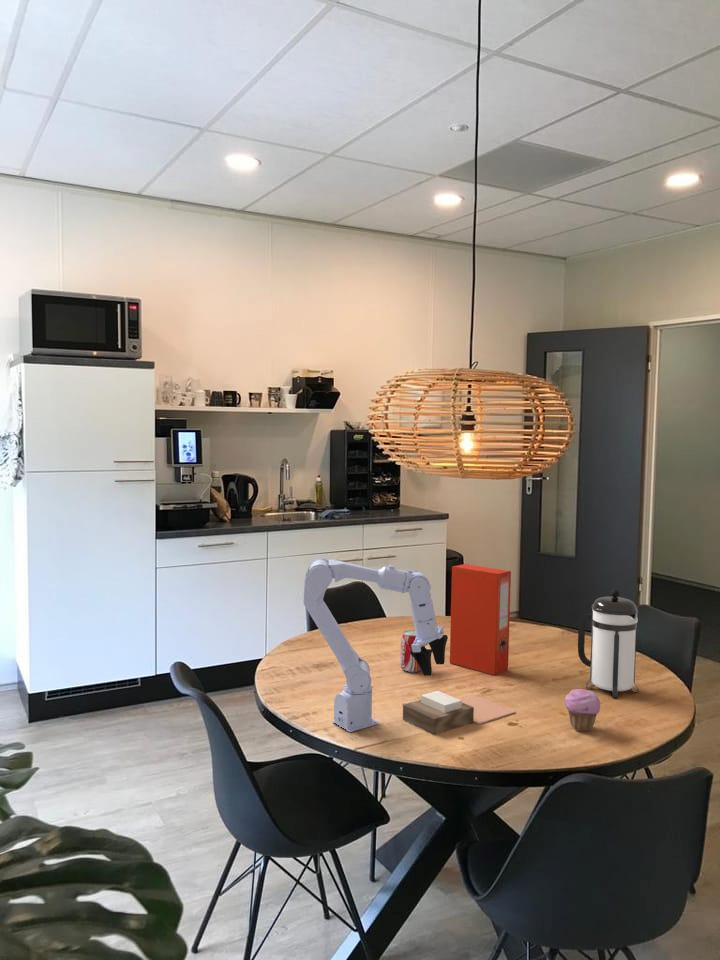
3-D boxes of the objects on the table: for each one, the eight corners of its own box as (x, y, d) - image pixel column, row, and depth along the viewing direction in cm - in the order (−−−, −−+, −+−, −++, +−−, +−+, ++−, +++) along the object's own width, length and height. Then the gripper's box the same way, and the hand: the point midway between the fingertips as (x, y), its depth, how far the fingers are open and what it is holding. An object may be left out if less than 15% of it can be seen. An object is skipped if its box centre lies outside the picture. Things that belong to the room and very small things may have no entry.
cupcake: (559, 721, 198) (560, 684, 197) (591, 721, 198) (593, 684, 198) (571, 735, 189) (572, 696, 188) (605, 735, 189) (606, 696, 189)
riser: (433, 734, 188) (434, 719, 188) (402, 719, 198) (402, 704, 198) (473, 722, 197) (473, 707, 196) (441, 708, 206) (442, 694, 206)
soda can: (396, 667, 241) (397, 630, 240) (416, 665, 244) (417, 629, 243) (405, 674, 235) (406, 636, 234) (426, 672, 237) (427, 634, 236)
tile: (444, 713, 192) (444, 705, 192) (421, 702, 199) (421, 695, 199) (461, 708, 196) (461, 700, 196) (437, 697, 203) (437, 690, 203)
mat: (479, 724, 195) (479, 723, 195) (436, 706, 208) (436, 704, 208) (515, 713, 204) (515, 711, 204) (472, 695, 216) (472, 694, 216)
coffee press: (636, 683, 229) (639, 585, 227) (640, 701, 213) (644, 597, 211) (576, 677, 233) (579, 582, 231) (577, 695, 218) (580, 592, 216)
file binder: (464, 658, 252) (466, 563, 250) (508, 670, 240) (510, 570, 238) (449, 663, 246) (451, 566, 244) (494, 675, 234) (496, 574, 232)
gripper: (425, 627, 186) (435, 680, 187) (449, 609, 198) (459, 659, 199) (400, 628, 190) (410, 680, 190) (426, 610, 202) (435, 659, 203)
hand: (434, 669), depth 195 cm, fingers open, 7 cm apart
